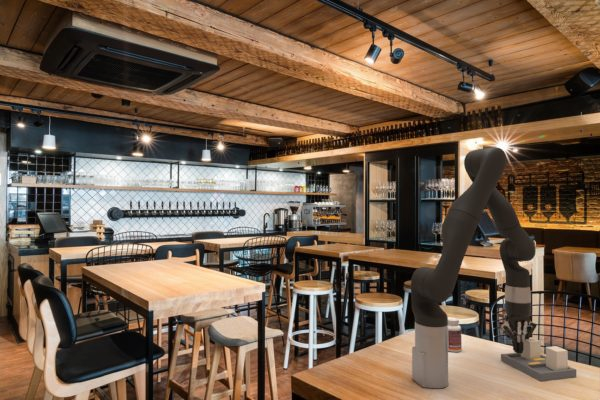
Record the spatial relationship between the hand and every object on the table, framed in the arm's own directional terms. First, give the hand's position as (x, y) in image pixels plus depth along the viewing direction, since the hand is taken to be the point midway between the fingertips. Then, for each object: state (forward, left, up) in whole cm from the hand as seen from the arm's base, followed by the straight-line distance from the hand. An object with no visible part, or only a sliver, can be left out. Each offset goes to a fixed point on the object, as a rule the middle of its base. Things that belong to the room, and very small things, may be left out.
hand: (518, 352), depth 129 cm
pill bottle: (-13, +16, -4) cm, 21 cm away
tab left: (+5, 0, -2) cm, 5 cm away
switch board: (+3, -5, -4) cm, 6 cm away
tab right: (+6, -9, -2) cm, 11 cm away
